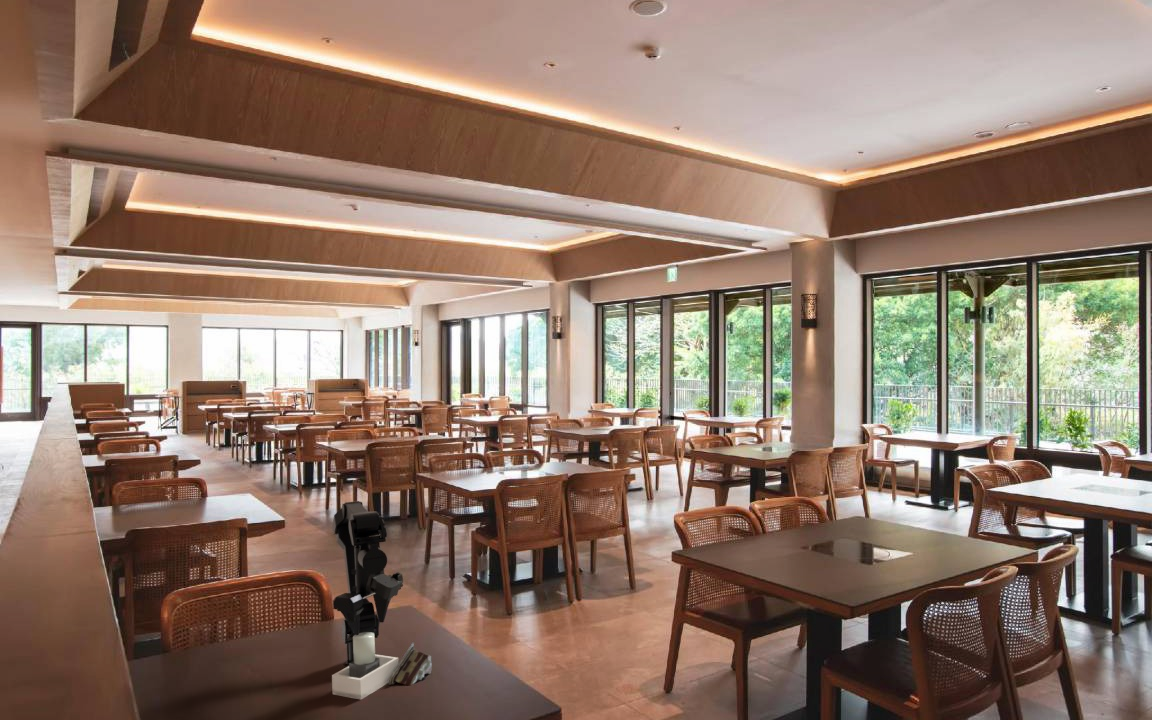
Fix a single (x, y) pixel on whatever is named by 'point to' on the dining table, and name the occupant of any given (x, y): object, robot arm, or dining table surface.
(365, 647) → the white pillar candle
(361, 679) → the tote
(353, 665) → the iron block
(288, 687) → the dining table surface
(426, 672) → the chocolate cake
